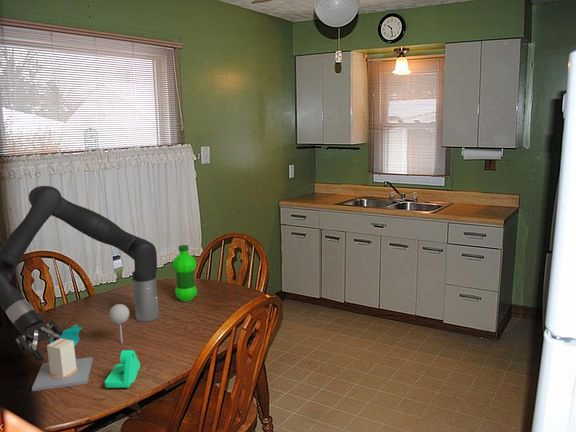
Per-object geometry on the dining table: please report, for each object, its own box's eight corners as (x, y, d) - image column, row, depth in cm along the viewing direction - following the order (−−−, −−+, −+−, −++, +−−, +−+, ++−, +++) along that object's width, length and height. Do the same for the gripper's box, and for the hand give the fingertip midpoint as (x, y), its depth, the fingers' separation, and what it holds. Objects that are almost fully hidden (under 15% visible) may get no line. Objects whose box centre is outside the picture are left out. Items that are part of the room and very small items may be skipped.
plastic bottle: (186, 293, 237) (183, 242, 231) (202, 298, 231) (199, 245, 225) (170, 300, 229) (166, 247, 223) (186, 305, 223) (183, 250, 217)
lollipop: (135, 339, 191) (132, 302, 187) (123, 348, 184) (120, 309, 181) (119, 337, 193) (116, 300, 190) (107, 345, 186) (103, 307, 183)
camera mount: (117, 370, 169) (114, 342, 167) (140, 370, 169) (138, 342, 166) (104, 390, 157) (101, 360, 155) (128, 390, 157) (126, 360, 155)
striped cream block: (64, 365, 170) (60, 337, 167) (76, 368, 168) (73, 340, 165) (50, 373, 165) (46, 344, 162) (63, 377, 162) (59, 347, 160)
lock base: (92, 359, 176) (91, 343, 174) (87, 383, 161) (85, 365, 159) (42, 366, 172) (40, 349, 171) (32, 391, 157) (29, 373, 155)
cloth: (64, 325, 205) (64, 320, 204) (98, 325, 205) (97, 320, 204) (32, 357, 180) (31, 351, 179) (70, 357, 179) (70, 351, 179)
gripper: (9, 318, 160) (40, 358, 158) (46, 302, 173) (75, 339, 171) (-1, 331, 163) (29, 370, 161) (36, 314, 176) (64, 350, 174)
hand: (53, 354), depth 166 cm, fingers open, 8 cm apart
